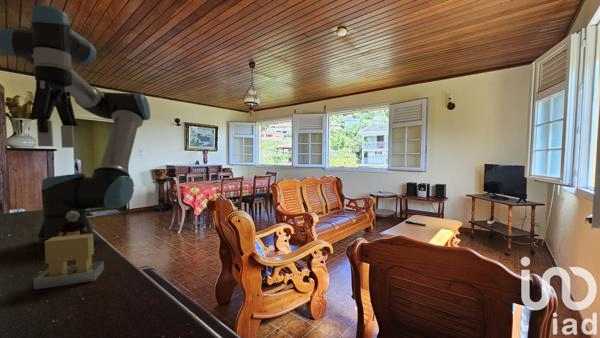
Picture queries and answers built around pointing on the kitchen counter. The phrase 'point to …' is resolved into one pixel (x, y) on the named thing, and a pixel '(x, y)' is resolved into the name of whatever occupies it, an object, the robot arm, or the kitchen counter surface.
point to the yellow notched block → (69, 253)
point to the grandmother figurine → (72, 225)
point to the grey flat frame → (68, 276)
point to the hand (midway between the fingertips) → (58, 147)
